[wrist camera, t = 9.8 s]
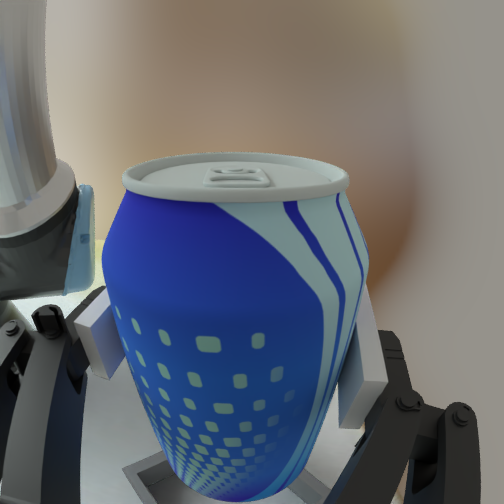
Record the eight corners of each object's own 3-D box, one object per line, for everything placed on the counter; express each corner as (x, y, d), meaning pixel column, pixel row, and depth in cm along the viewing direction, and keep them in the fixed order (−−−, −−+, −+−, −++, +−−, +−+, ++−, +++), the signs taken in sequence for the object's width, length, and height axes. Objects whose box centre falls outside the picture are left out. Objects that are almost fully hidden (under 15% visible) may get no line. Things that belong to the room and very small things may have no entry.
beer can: (141, 452, 14) (49, 179, 8) (225, 380, 21) (220, 146, 14) (254, 533, 10) (301, 245, 3) (329, 432, 16) (402, 171, 10)
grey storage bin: (215, 583, 12) (212, 585, 10) (133, 482, 20) (121, 468, 19) (326, 506, 20) (338, 496, 18) (238, 428, 28) (240, 409, 26)
